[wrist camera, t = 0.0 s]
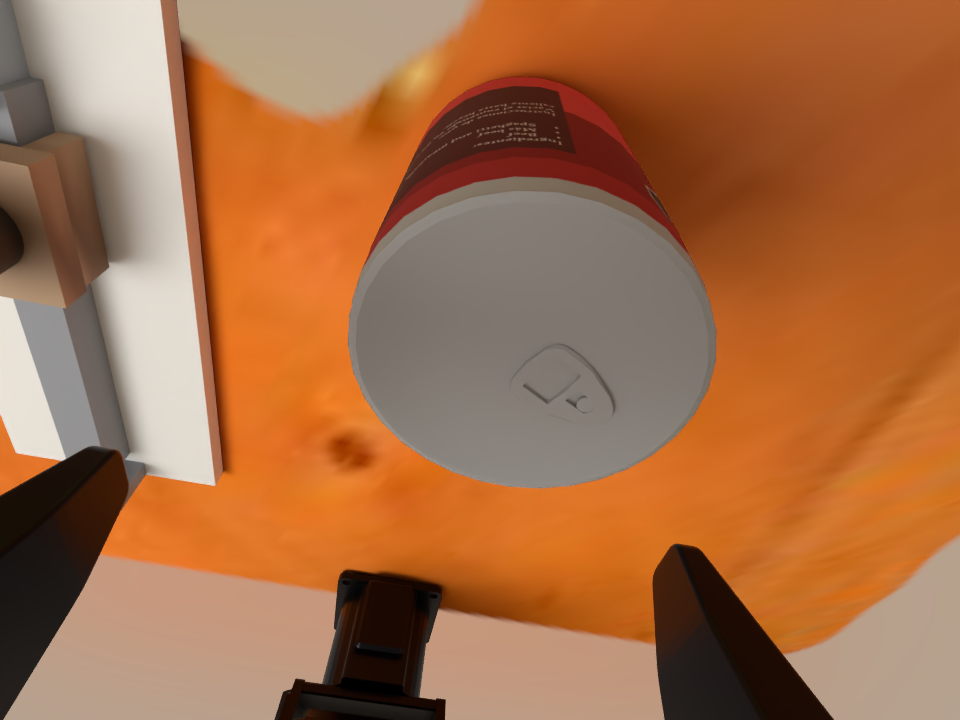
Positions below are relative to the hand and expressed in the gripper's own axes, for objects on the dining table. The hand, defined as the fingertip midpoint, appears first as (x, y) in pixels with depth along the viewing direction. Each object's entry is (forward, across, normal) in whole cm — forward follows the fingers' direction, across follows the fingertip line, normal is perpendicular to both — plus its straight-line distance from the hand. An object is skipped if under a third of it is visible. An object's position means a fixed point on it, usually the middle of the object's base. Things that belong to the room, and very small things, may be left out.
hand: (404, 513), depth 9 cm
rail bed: (+15, +15, +6) cm, 22 cm away
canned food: (+15, -2, -1) cm, 15 cm away
